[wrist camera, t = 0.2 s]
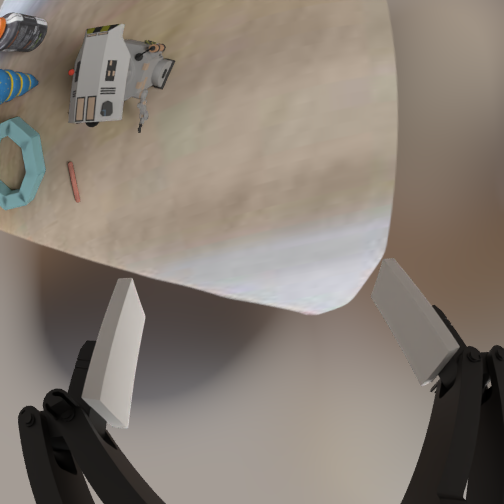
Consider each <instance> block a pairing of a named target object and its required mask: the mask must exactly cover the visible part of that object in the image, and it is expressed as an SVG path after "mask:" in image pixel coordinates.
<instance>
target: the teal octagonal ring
mask: <svg viewBox="0 0 504 504" xmlns="http://www.w3.org/2000/svg"><path fill="white" fill-rule="evenodd" d="M6 136H9V137H10V138H11V139H12V140H13V141H14V142H15V143H16V144H17V145H19V146H20V147H21V148H22V154H23V159H24V164H25V169H26V174H25V177H24V180H23V182H22V185H21V188H20V189H16V190H13V191H12V190H11V189H10V188H8V187H7V186H6V185H5V184H4V183H3V182H2V181H1V180H0V206H1V207H2V208H3V209H4V210H8V209H12V208H16V207H20V206H25V205H27V204H28V203H29V202H31V201H32V200H33V199H34V197H35V195H36V192H37V190H38V187H39V185H40V183H41V180H42V178H43V176H44V174H45V170H46V169H45V164H44V158H43V153H42V147H41V140H40V135H39V134H38V133H37V132H36V131H35V130H34V129H33V128H31V127H30V126H29V125H28V124H27V123H25V122H24V121H23V120H22V119H21V118H20V117H15V118H12V119H9V120H7V121H5V122H3V123H1V124H0V141H1V139H2V138H4V137H6Z"/></svg>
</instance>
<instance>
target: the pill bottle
mask: <svg viewBox="0 0 504 504" xmlns="http://www.w3.org/2000/svg"><path fill="white" fill-rule="evenodd" d="M46 32H47V22H46V21H45V20H44V19H42V18H38V17H33V16H28V15H23V14H18V13H8V14H6V15H5V16H3V17H2V18H0V51H22V52H28V51H32V50H34V49H35V48H36V47H37V46H39V44H40V43H41V42H42V41H43V39H44V37H45V35H46Z"/></svg>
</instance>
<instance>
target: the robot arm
mask: <svg viewBox="0 0 504 504" xmlns="http://www.w3.org/2000/svg"><path fill="white" fill-rule="evenodd" d="M371 298H372V299H373V301H374V303H375V304H376V306H377V308H378V309H379V311H380V312H381V314H382V316H383V318H384V319H385V321H386V323H387V324H388V326H389V328H390V329H391V331H392V333H393V335H394V336H395V338H396V340H397V342H398V344H399V345H400V347H401V349H402V351H403V352H404V354H405V356H406V358H407V360H408V362H409V364H410V366H411V367H412V370H413V371H414V373H415V375H416V377H417V379H418V381H419V383H420V385H421V386H423V385H425V384H428V383H430V382H432V381H433V380H434V379H435V378H436V376H437V375H439V377H440V380H439V381H438V382H437V383H436V384H435V385H434V386H433V387H432V388H431V392H432V391H433V390H434V389H435V388H436V387H437V389H436V391H435V393H436V394H435V399H434V404H433V409H432V413H431V417H430V422H429V426H428V429H427V433H426V437H425V440H424V444H423V447H422V450H421V453H420V456H419V459H418V462H417V465H416V468H415V471H414V473H413V476H412V479H411V481H410V484H409V486H408V489H407V491H406V493H405V496H404V498H403V500H402V502H401V504H504V348H502V347H501V346H498V345H496V346H493V347H492V349H491V350H490V351H489V352H482V353H480V352H479V351H478V350H477V349H476V348H474V347H471V346H468V347H467V346H466V345H465V343H464V342H463V340H462V339H461V338H460V336H459V335H458V333H457V331H456V330H455V329H454V327H453V326H451V323H450V321H449V320H447V317H446V316H445V315H444V313H443V312H442V311H441V310H440V309H439V308H437V307H436V306H435V305H432V306H431V304H430V303H429V302H428V300H427V299H426V298H425V296H424V295H423V294H422V293H421V291H420V290H419V289H418V287H417V286H416V285H415V284H414V282H413V281H412V280H411V278H410V277H409V276H408V275H407V273H406V272H405V271H404V270H403V269H402V267H401V266H400V265H399V264H398V263H397V261H396V260H395V259H394V258H392V259H383V262H382V265H381V268H380V271H379V274H378V277H377V280H376V283H375V286H374V289H373V292H372V295H371ZM144 322H145V315H144V311H143V309H142V306H141V303H140V300H139V297H138V294H137V291H136V288H135V285H134V282H133V279H132V278H121V279H118V281H117V284H116V287H115V289H114V292H113V294H112V297H111V300H110V302H109V305H108V308H107V311H106V314H105V317H104V319H103V322H102V325H101V329H100V332H99V335H98V338H97V341H86V343H85V344H84V345H83V346H82V348H81V349H80V352H79V355H78V358H77V362H76V365H75V369H74V372H73V375H72V379H71V382H70V386H69V390H68V393H67V392H66V391H64V390H62V389H54V390H51V391H50V392H49V393H47V394H46V396H45V398H44V402H43V409H44V411H39V410H37V409H36V408H35V407H33V406H26V407H24V408H23V409H22V410H21V411H20V413H19V416H18V425H19V432H20V439H21V445H22V451H23V456H24V461H25V465H26V469H27V473H28V477H29V481H30V485H31V488H32V492H33V495H34V498H35V501H36V504H95V503H94V501H93V499H92V496H91V494H90V491H89V489H88V486H87V484H86V481H85V478H84V476H83V474H84V475H85V477H86V478H87V480H88V482H89V483H90V485H91V486H92V488H93V489H94V491H95V492H96V494H97V495H98V496H99V498H100V499H101V501H102V502H103V503H104V504H165V503H164V502H163V501H162V499H161V498H160V497H159V496H158V495H157V494H156V493H155V492H154V491H153V490H152V488H151V487H150V486H149V485H148V484H147V483H146V482H145V480H144V479H143V478H142V477H141V476H140V474H139V473H138V472H137V471H136V470H135V468H134V467H133V466H132V464H131V463H130V462H129V461H128V459H127V458H126V456H125V455H124V454H123V453H122V451H121V450H120V448H119V447H118V445H117V444H116V443H115V441H114V440H113V438H112V437H111V435H110V434H109V432H108V431H107V430H106V423H109V424H110V425H111V426H112V427H118V428H126V429H128V426H129V416H130V407H131V399H132V391H133V384H134V377H135V371H136V365H137V359H138V353H139V347H140V341H141V337H142V331H143V327H144ZM490 381H491V385H492V386H491V387H490V388H489V389H488V387H487V384H488V383H489V382H490ZM82 472H83V473H82ZM467 480H468V485H467V494H466V500H465V499H464V498H463V494H464V490H465V487H466V483H467Z"/></svg>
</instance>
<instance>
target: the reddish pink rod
mask: <svg viewBox="0 0 504 504" xmlns="http://www.w3.org/2000/svg"><path fill="white" fill-rule="evenodd" d="M68 168H69V173H70V178H71V182H72V187H73V191H74V196H75V200H76V202H77V203H78V202H80V196H79V192H78V188H77V183H76V178H75V173H74V168H73V163H72V162H69V163H68Z"/></svg>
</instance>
